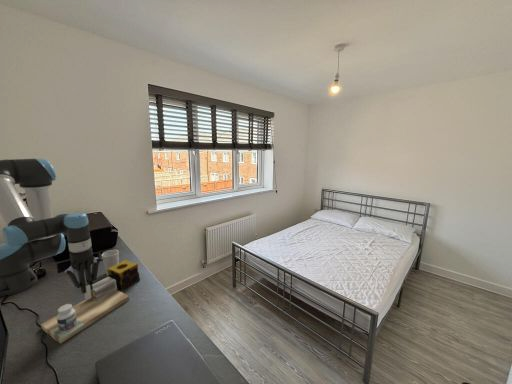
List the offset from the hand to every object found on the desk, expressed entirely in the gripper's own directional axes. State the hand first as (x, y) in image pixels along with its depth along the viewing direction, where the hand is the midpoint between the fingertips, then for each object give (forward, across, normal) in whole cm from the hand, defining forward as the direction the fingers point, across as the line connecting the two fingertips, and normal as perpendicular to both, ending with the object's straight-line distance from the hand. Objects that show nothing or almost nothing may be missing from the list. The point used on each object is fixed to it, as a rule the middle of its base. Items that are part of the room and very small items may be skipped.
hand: (88, 297), depth 95 cm
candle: (+4, +18, +2) cm, 18 cm away
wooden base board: (+4, -2, -5) cm, 7 cm away
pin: (+1, +5, 0) cm, 5 cm away
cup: (+4, +21, +18) cm, 28 cm away
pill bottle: (+2, -11, -9) cm, 15 cm away
